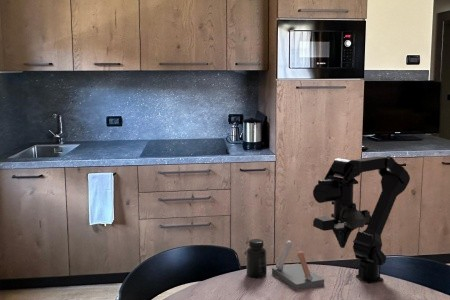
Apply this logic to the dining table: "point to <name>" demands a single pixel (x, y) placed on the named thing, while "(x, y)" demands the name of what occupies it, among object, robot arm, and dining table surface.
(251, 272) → the supplement bottle
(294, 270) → the switch panel
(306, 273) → the terracotta lever
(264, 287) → the dining table surface
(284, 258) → the pale grey lever
